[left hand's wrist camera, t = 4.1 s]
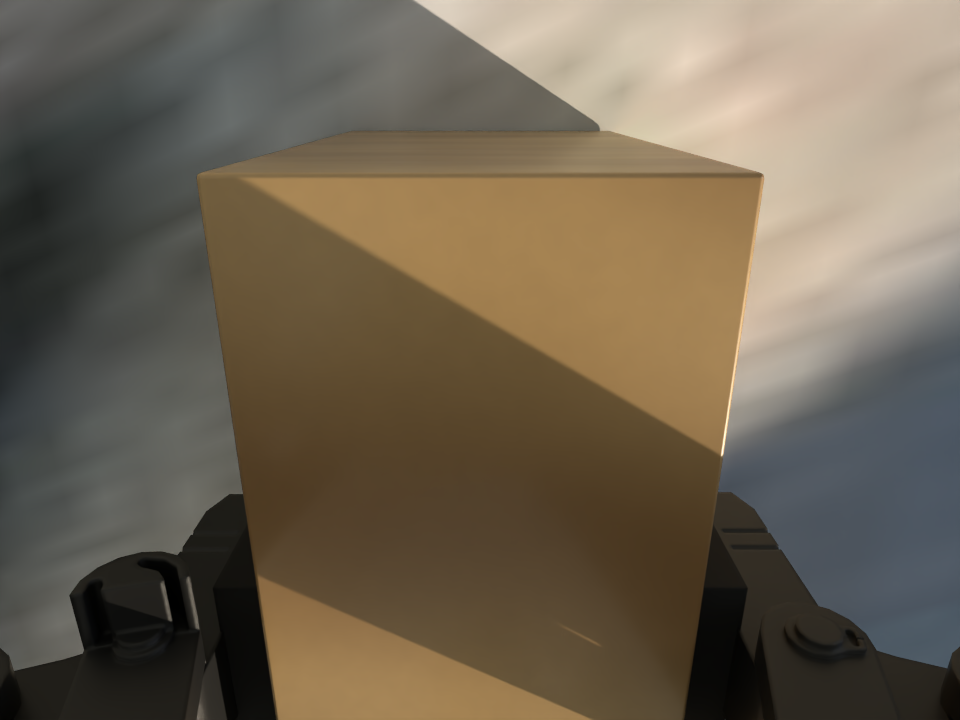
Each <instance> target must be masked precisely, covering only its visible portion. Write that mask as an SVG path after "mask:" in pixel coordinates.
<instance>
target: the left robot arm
mask: <svg viewBox="0 0 960 720" xmlns="http://www.w3.org/2000/svg"><path fill="white" fill-rule="evenodd" d="M193 532H194V533H193V535H191V536H190V537H189V539H188V540H187V542H186V543H185V545H184V546H183V551H182V552H179V554H178V555H174V554H170V553H166V552H141V553H137V554H133V555H129V556H125V557H120V558H118V559H116V560H113V561H111V562H109V563H107V564H105V565H102V566H100V567H98V568H97V569H95V570H94V571H93V572H91V573H90V574H89V575H87V576H86V577H84V578H83V579H82V580H80V582H79V583H78V584H77V586H76V587H75V588H74V590H73V591H72V592H71V594H70V595H69V596H70V599H71V603H72V607H73V610H74V614H75V618H76V621H77V625H78V629H79V632H80V636H81V640H82V643H83V647H84V652H83V654H80V655H77V656H74V657H71V658H67V659H64V660H60V661H55V662H51V663H47V664H42V665H38V666H34V667H30V668H25V669H21V670H17V671H14V670H13V667H12V663H11V660H10V657H9V655H7V654H6V653H5V652H4V651H3V650H2V649H0V720H276V713H275V707H274V700H273V693H272V686H271V680H270V673H269V666H268V659H267V652H266V646H265V639H264V632H263V625H262V619H261V612H260V605H259V598H258V591H257V585H256V578H255V571H254V564H253V558H252V551H251V544H250V537H249V530H248V524H247V517H246V510H245V503H244V497H243V494H229V495H228V496H227V497H225V498H224V499H223V500H221V501H220V502H218V503H217V504H216V505H214V506H213V507H212V508H210V509H209V510H208V511H206V513H205V514H204V516H203V517H202V519H201V520H200V522H199V524H198V525H197V527H196V528H195V530H194V531H193ZM684 720H960V647H959V648H958V649H957V650H956V651H954V652H953V653H952V656H951V659H950V662H949V665H948V668H943V667H938V666H934V665H930V664H926V663H921V662H917V661H913V660H908V659H904V658H900V657H896V656H892V655H889V654H886V653H883V652H879V651H877V650H876V649H875V647H874V645H873V644H872V642H871V641H870V639H869V638H868V636H867V635H866V633H865V632H863V631H862V630H861V629H860V628H859V627H857V626H856V625H855V624H854V623H853V622H852V621H850V620H849V619H847V618H845V617H843V616H841V615H839V614H837V613H835V612H834V611H832V610H830V609H827V608H823V607H820V606H818V605H817V603H816V602H815V600H814V599H813V597H812V596H811V594H810V593H809V591H808V590H807V588H806V587H805V585H804V584H803V582H802V581H801V579H800V577H799V576H798V574H797V573H796V571H795V570H794V568H793V567H792V565H791V564H790V562H789V561H788V559H787V558H786V556H785V555H784V553H783V552H782V550H779V549H778V544H777V543H776V541H775V540H774V538H773V537H772V535H771V534H770V533H768V532H767V528H766V526H765V525H764V523H763V522H762V520H761V519H760V517H759V516H758V514H757V513H756V511H755V509H753V508H752V507H751V506H749V505H748V504H746V503H745V502H744V501H742V500H741V499H740V498H738V497H737V496H736V495H734V494H733V493H731V492H718V494H717V501H716V508H715V514H714V521H713V528H712V535H711V541H710V548H709V555H708V562H707V568H706V575H705V582H704V589H703V595H702V602H701V609H700V616H699V622H698V629H697V636H696V643H695V650H694V656H693V663H692V670H691V677H690V683H689V690H688V697H687V704H686V710H685V717H684Z"/></svg>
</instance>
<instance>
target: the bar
mask: <svg viewBox="0 0 960 720" xmlns="http://www.w3.org/2000/svg"><path fill="white" fill-rule="evenodd" d="M763 183H764V176H763V174H761V173H759V172H756V171H752V170H748V169H745V168H741V167H737V166H734V165H730V164H727V163H723V162H719V161H716V160H712V159H708V158H705V157H701V156H698V155H694V154H690V153H687V152H683V151H679V150H676V149H672V148H669V147H665V146H661V145H658V144H654V143H650V142H647V141H643V140H640V139H636V138H632V137H629V136H625V135H621V134H618V133H614V132H611V131H350V132H346V133H343V134H339V135H335V136H332V137H328V138H325V139H321V140H317V141H314V142H310V143H307V144H303V145H299V146H296V147H292V148H288V149H285V150H281V151H278V152H274V153H270V154H267V155H263V156H259V157H256V158H252V159H249V160H245V161H241V162H238V163H234V164H231V165H227V166H223V167H220V168H216V169H212V170H209V171H205V172H202V173H199V174H198V175H197V185H198V191H199V198H200V205H201V212H202V219H203V225H204V232H205V239H206V246H207V252H208V259H209V266H210V273H211V280H212V286H213V293H214V300H215V307H216V314H217V320H218V327H219V334H220V341H221V347H222V354H223V361H224V368H225V375H226V381H227V388H228V395H229V402H230V408H231V415H232V422H233V429H234V436H235V442H236V449H237V456H238V463H239V469H240V476H241V483H242V490H243V497H244V503H245V510H246V517H247V524H248V530H249V537H250V544H251V551H252V558H253V564H254V571H255V578H256V585H257V591H258V598H259V605H260V612H261V619H262V625H263V632H264V639H265V646H266V652H267V659H268V666H269V673H270V680H271V686H272V693H273V700H274V707H275V713H276V720H684V717H685V710H686V704H687V697H688V690H689V683H690V677H691V670H692V663H693V656H694V650H695V643H696V636H697V629H698V622H699V616H700V609H701V602H702V595H703V589H704V582H705V575H706V568H707V562H708V555H709V548H710V541H711V535H712V528H713V521H714V514H715V508H716V501H717V494H718V487H719V480H720V474H721V467H722V460H723V453H724V447H725V440H726V433H727V426H728V420H729V413H730V406H731V399H732V393H733V386H734V379H735V372H736V366H737V359H738V352H739V345H740V339H741V332H742V325H743V318H744V311H745V305H746V298H747V291H748V284H749V278H750V271H751V264H752V257H753V251H754V244H755V237H756V230H757V224H758V217H759V210H760V203H761V197H762V190H763Z"/></svg>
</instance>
